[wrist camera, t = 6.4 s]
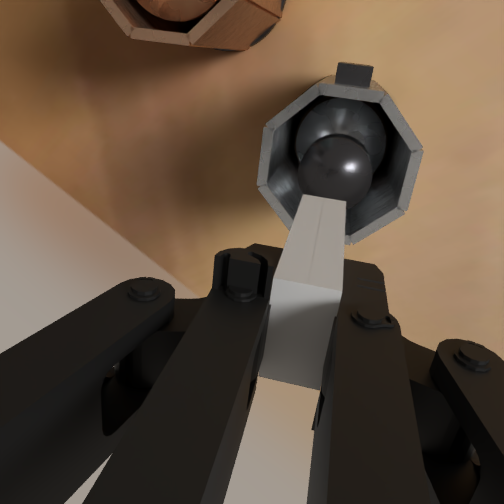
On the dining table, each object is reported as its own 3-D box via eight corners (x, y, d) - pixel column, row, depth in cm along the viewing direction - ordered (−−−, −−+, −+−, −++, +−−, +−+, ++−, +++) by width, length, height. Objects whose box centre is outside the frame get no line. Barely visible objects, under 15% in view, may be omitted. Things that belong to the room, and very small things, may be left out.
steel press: (281, 177, 41) (248, 229, 28) (298, 56, 37) (268, 54, 24) (384, 194, 40) (397, 257, 27) (415, 70, 35) (448, 76, 23)
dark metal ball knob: (290, 178, 36) (267, 221, 26) (304, 91, 33) (283, 104, 23) (374, 192, 35) (381, 242, 25) (395, 104, 32) (412, 123, 22)
